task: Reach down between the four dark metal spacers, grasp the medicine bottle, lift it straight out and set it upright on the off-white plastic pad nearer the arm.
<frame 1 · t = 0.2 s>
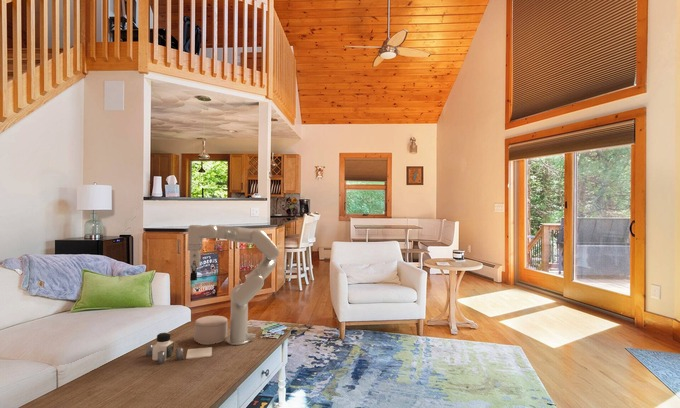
hand: (193, 278, 199), 36 cm above the table, tool pointing down, fingers open, 9 cm apart
container: (210, 340, 208), on the table
pad: (199, 353, 187), on the table
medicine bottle: (162, 358, 181), on the table
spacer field: (162, 357, 181), on the table
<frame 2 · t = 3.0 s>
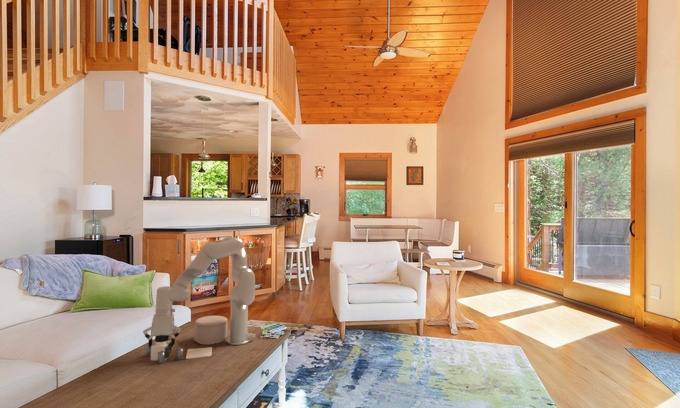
hand: (161, 346, 180), 6 cm above the table, tool pointing down, fingers open, 9 cm apart
nothing on the table moved.
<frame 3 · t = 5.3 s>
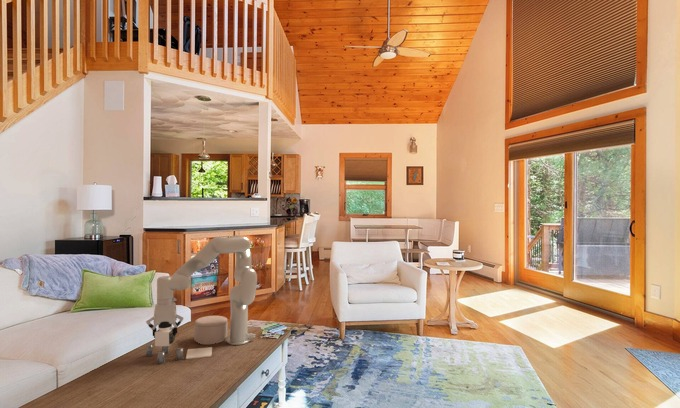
hand: (165, 335, 182), 11 cm above the table, tool pointing down, fingers closed on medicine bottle, 8 cm apart
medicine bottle: (165, 344, 182), point 6 cm above the table, touching gripper
everything else where it was.
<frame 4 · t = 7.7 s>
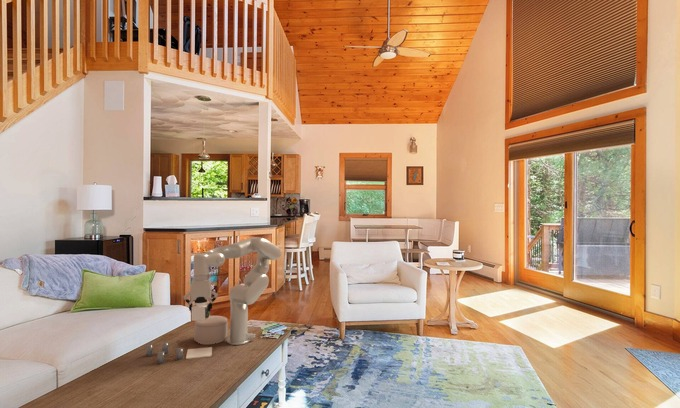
hand: (200, 311, 188), 22 cm above the table, tool pointing down, fingers closed on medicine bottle, 8 cm apart
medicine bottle: (200, 318, 188), point 18 cm above the table, touching gripper
everything else where it was.
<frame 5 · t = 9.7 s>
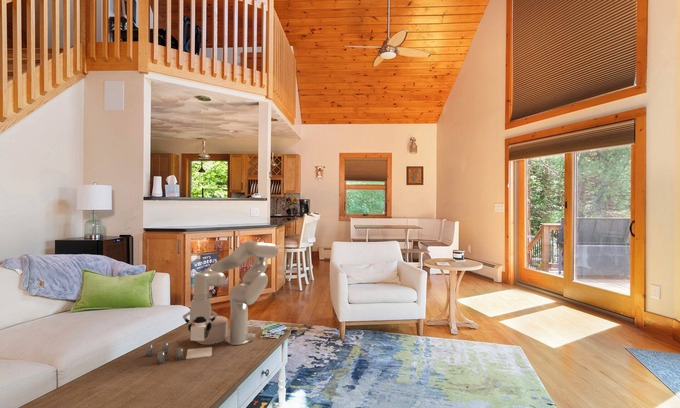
hand: (199, 330, 187), 12 cm above the table, tool pointing down, fingers closed on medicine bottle, 8 cm apart
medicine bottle: (199, 338, 187), point 7 cm above the table, touching gripper
everything else where it was.
when the fingers open (5 cm above the table, at t = 11.6 s): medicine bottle stays where it is, resting on pad.
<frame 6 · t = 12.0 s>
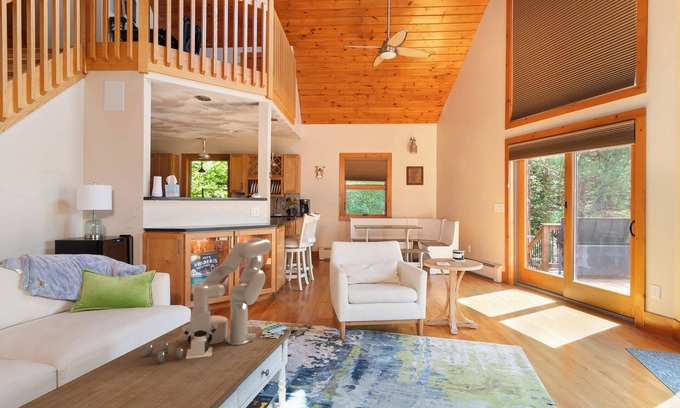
hand: (199, 342, 187), 6 cm above the table, tool pointing down, fingers open, 9 cm apart
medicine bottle: (199, 352, 187), resting on pad
everything else where it was.
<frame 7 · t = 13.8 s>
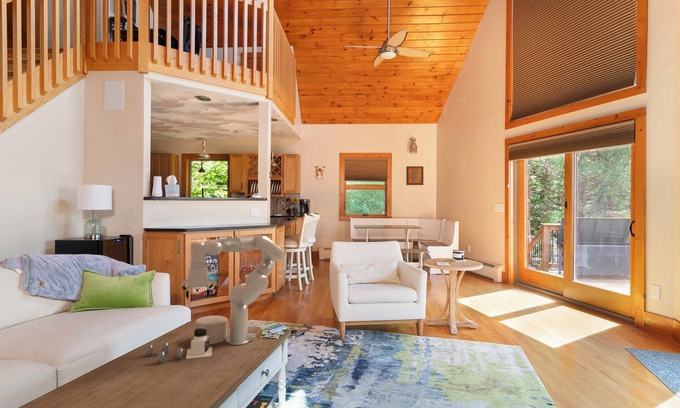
hand: (197, 297, 192), 28 cm above the table, tool pointing down, fingers open, 9 cm apart
nothing on the table moved.
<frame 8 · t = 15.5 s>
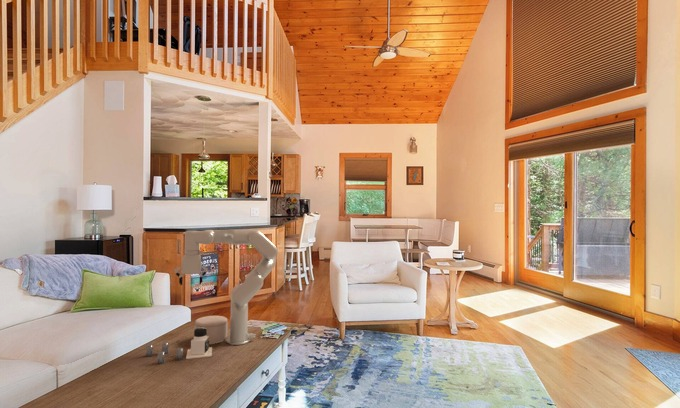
hand: (190, 284, 199), 33 cm above the table, tool pointing down, fingers open, 9 cm apart
nothing on the table moved.
at the end: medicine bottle inside the target area on the pad (0.2 cm from its centre), point 0.4 cm above the pad's base; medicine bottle tilted 0°; the gripper is holding nothing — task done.
